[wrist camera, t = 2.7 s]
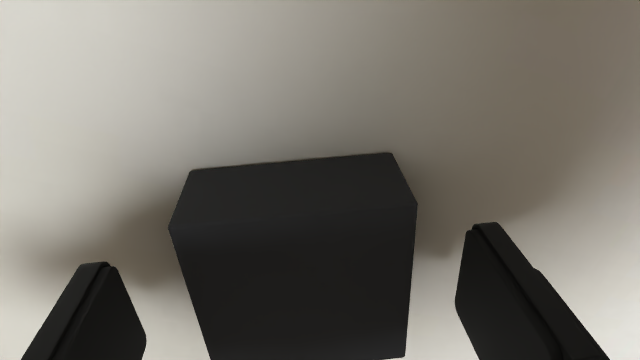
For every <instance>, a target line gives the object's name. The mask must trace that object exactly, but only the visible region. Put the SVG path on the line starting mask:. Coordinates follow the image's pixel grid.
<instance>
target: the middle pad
mask: <svg viewBox="0 0 640 360" xmlns="http://www.w3.org/2000/svg"><path fill="white" fill-rule="evenodd" d="M417 206H418V204H417V201H416V199H415V197H414V195H413V194H412V192H411V190H410V188H409V186H408V184H407V182H406V180H405V178H404V176H403V174H402V172H401V170H400V168H399V166H398V164H397V162H396V160H395V158H394V157H393V155H392V154H391V153H383V154H372V155H361V156H350V157H339V158H327V159H316V160H305V161H294V162H283V163H272V164H261V165H250V166H239V167H228V168H217V169H206V170H194V171H191V172H189V175H188V177H187V180H186V182H185V185H184V187H183V190H182V192H181V195H180V198H179V200H178V203H177V205H176V208H175V210H174V213H173V215H172V218H171V220H170V223H169V225H168V230H169V233H170V236H171V239H172V242H173V245H174V248H175V251H176V254H177V257H178V261H179V264H180V267H181V270H182V273H183V276H184V279H185V282H186V285H187V288H188V291H189V294H190V298H191V301H192V304H193V307H194V310H195V313H196V316H197V319H198V322H199V325H200V328H201V331H202V335H203V338H204V341H205V344H206V347H207V350H208V353H209V356H210V359H211V360H384V359H393V358H402V357H404V356H405V350H406V338H407V326H408V314H409V302H410V290H411V278H412V266H413V254H414V242H415V230H416V218H417Z"/></svg>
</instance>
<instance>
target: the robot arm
mask: <svg viewBox="0 0 640 360" xmlns="http://www.w3.org/2000/svg"><path fill="white" fill-rule="evenodd" d="M455 307H456V311H457V314H458V316H459V318H460V320H461V322H462V324H463V326H464V329H465V331H466V333H467V335H468V337H469V339H470V341H471V343H472V345H473V347H474V349H475V352H476V354H477V356H478V358H479V360H610V359H609V358H608V356H607V355H606V354H605V353H604V351H603V350H602V349H601V348H600V346H599V345H598V344H597V342H596V341H595V340H594V339H593V337H592V336H591V335H590V334H589V332H588V331H587V330H586V329H585V327H584V326H583V325H582V323H581V322H580V321H579V320H578V318H577V317H576V316H575V315H574V313H573V312H572V311H571V310H570V308H569V307H568V306H567V304H566V303H565V302H564V301H563V299H562V298H561V297H560V296H559V294H558V293H557V292H556V291H555V289H554V288H553V287H552V285H551V284H550V283H549V282H548V280H547V279H546V278H545V277H544V275H543V274H542V273H541V272H540V271H539V270H537V269H535V268H533V267H532V265H531V264H530V263H529V262H528V260H527V259H526V258H525V256H524V255H523V254H522V253H521V251H520V250H519V249H518V247H517V246H516V245H515V244H514V242H513V241H512V240H511V238H510V237H509V236H508V235H507V233H506V232H505V231H504V229H503V228H502V227H501V226H500V224H498V223H497V222H490V223H480V224H474V225H473V227H472V230H468V231H467V232H466V236H465V242H464V248H463V254H462V260H461V266H460V272H459V278H458V284H457V290H456V296H455ZM145 347H146V334H145V331H144V329H143V327H142V325H141V322H140V320H139V318H138V315H137V313H136V311H135V308H134V306H133V304H132V302H131V299H130V297H129V295H128V292H127V290H126V288H125V285H124V283H123V281H122V279H121V276H120V274H119V272H118V270H117V268H116V267H114V266H112V267H111V266H110V264H109V263H108V262H96V263H86V264H82V265H80V266H79V267H78V269H77V270H76V272H75V273H74V275H73V277H72V278H71V280H70V281H69V283H68V285H67V286H66V288H65V290H64V291H63V293H62V294H61V296H60V298H59V299H58V301H57V302H56V304H55V306H54V307H53V309H52V311H51V312H50V314H49V315H48V317H47V319H46V320H45V322H44V323H43V325H42V327H41V328H40V330H39V331H38V333H37V334H36V336H35V338H34V339H33V341H32V342H31V344H30V346H29V347H28V349H27V351H26V352H25V354H24V355H23V357H22V359H21V360H142V357H143V354H144V351H145Z"/></svg>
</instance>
